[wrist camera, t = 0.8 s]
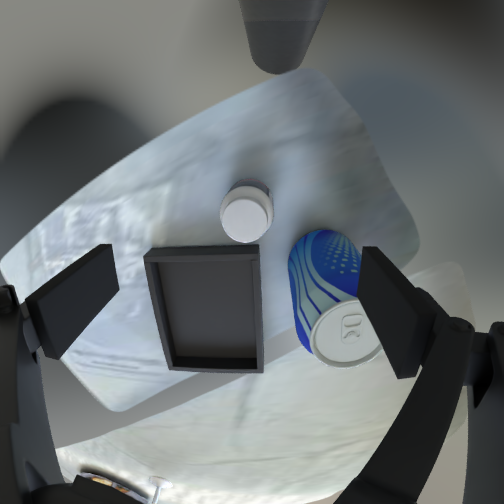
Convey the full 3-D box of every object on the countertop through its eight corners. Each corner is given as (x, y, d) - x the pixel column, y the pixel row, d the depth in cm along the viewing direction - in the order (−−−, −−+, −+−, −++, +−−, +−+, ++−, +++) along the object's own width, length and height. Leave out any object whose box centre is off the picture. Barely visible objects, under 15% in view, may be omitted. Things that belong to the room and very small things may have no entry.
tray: (151, 248, 37) (142, 256, 34) (259, 244, 36) (258, 253, 34) (173, 357, 43) (168, 370, 40) (264, 359, 42) (263, 373, 40)
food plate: (136, 507, 73) (134, 514, 70) (78, 478, 70) (75, 485, 66) (157, 494, 65) (155, 503, 62) (86, 460, 62) (82, 469, 58)
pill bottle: (220, 188, 34) (204, 203, 26) (263, 171, 33) (261, 181, 25) (237, 229, 36) (227, 257, 28) (279, 214, 35) (282, 238, 27)
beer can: (367, 251, 36) (421, 321, 21) (326, 301, 39) (352, 389, 24) (315, 212, 35) (348, 266, 20) (273, 268, 37) (275, 350, 22)
